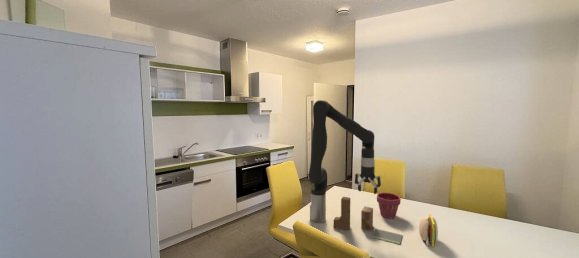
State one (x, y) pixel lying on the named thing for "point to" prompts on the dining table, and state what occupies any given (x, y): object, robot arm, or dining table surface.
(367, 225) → the walnut block
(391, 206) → the plant pot
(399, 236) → the mat
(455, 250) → the dining table surface
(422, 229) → the hamburger
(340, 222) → the wooden block
